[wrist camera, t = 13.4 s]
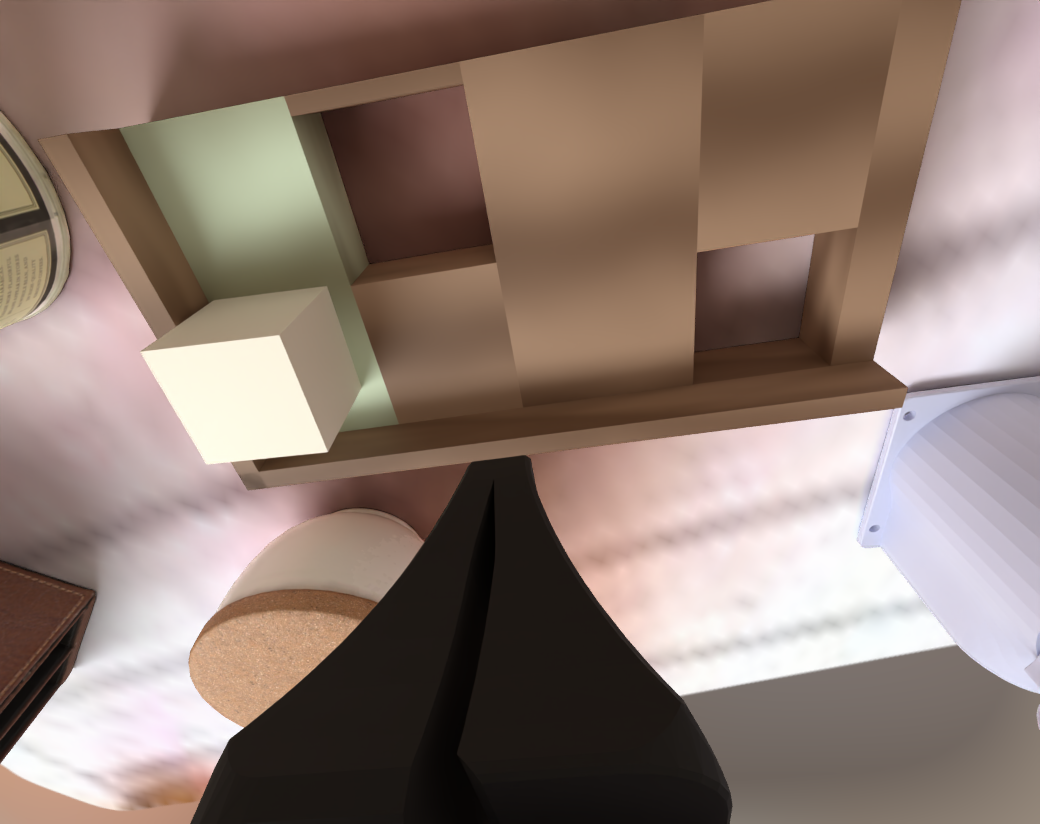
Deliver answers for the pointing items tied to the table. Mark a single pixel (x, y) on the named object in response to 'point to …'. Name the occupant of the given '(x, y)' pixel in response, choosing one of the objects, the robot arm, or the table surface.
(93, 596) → the letter holder
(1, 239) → the coffee can
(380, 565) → the lidded jar
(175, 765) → the table surface
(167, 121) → the board
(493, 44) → the table surface
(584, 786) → the robot arm
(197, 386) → the cream block
